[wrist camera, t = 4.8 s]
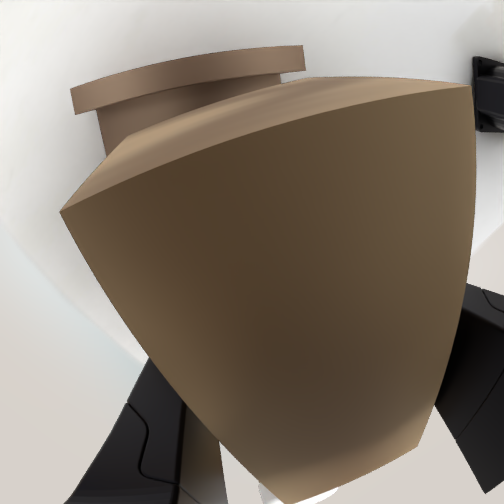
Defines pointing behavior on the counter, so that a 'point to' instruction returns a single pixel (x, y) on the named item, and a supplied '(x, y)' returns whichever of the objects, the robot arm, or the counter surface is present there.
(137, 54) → the counter surface
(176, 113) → the peg cradle
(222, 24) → the counter surface
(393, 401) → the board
